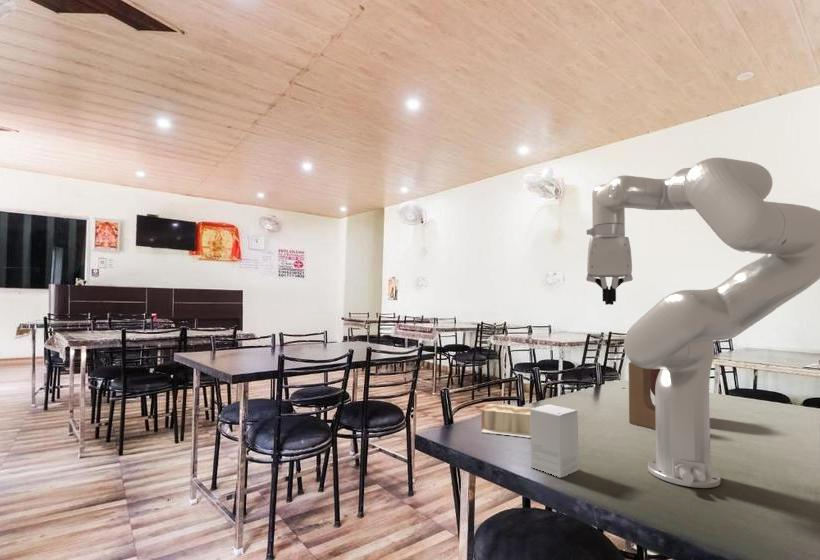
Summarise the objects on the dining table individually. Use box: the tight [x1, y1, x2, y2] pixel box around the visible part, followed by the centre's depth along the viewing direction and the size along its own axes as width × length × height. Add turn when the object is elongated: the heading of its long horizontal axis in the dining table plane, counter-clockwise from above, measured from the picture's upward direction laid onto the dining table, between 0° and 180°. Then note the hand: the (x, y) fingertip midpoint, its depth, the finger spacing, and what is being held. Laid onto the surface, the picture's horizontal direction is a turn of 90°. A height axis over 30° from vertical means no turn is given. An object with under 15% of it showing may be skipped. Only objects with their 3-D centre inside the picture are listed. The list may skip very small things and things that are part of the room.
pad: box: [481, 429, 531, 439], centre depth 119 cm, size 14×14×1 cm
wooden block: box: [628, 361, 656, 430], centre depth 124 cm, size 9×4×18 cm, turn 38°
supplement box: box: [530, 403, 579, 479], centre depth 91 cm, size 7×7×13 cm
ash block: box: [481, 403, 533, 434], centre depth 119 cm, size 8×5×16 cm
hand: (609, 304), depth 109 cm, fingers closed
